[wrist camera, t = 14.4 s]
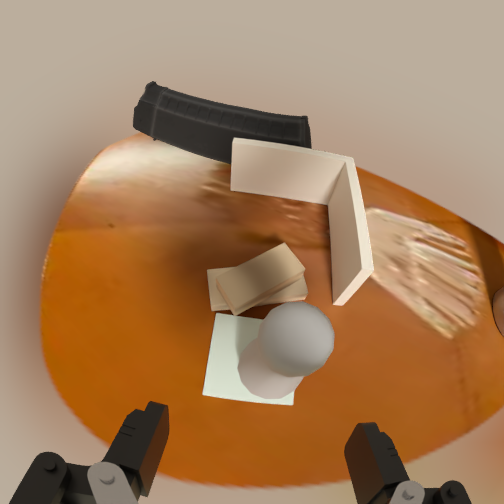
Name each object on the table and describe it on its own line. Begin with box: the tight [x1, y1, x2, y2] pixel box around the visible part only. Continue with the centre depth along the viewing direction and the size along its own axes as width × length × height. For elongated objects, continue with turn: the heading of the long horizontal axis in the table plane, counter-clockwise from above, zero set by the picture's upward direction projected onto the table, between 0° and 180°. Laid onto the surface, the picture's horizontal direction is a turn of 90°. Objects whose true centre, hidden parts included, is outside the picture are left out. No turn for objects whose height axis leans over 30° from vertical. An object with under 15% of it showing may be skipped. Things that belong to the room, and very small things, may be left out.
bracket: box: [231, 138, 374, 306], centre depth 31 cm, size 15×16×8 cm
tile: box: [203, 313, 294, 405], centre depth 26 cm, size 8×8×1 cm
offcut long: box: [207, 267, 308, 311], centre depth 30 cm, size 10×4×2 cm, turn 99°
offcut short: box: [216, 243, 305, 316], centre depth 28 cm, size 8×4×2 cm, turn 122°
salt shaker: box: [237, 301, 334, 399], centre depth 19 cm, size 6×6×13 cm
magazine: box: [133, 81, 312, 164], centre depth 38 cm, size 17×3×30 cm
